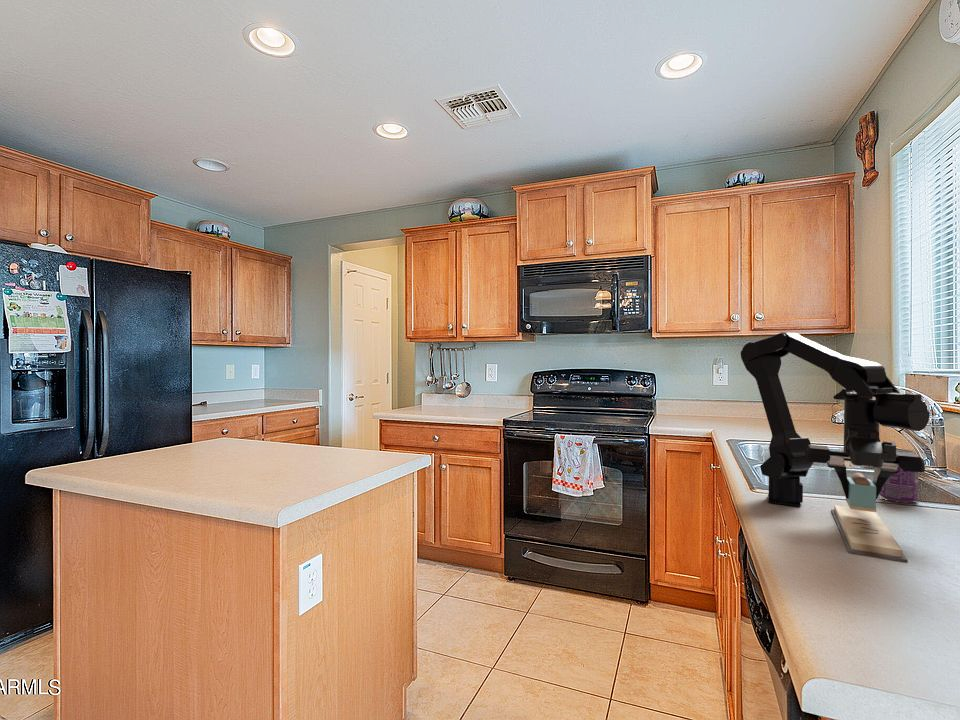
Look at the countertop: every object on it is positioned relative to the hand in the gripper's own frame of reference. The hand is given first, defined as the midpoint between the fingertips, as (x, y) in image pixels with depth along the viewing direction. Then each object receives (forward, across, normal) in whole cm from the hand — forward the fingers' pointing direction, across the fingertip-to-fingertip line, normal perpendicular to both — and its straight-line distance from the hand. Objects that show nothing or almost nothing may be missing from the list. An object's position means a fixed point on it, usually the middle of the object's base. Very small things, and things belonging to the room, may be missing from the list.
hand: (860, 499), depth 100 cm
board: (+6, 0, -4) cm, 7 cm away
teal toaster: (+1, 0, 0) cm, 1 cm away
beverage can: (+6, +11, +28) cm, 31 cm away
